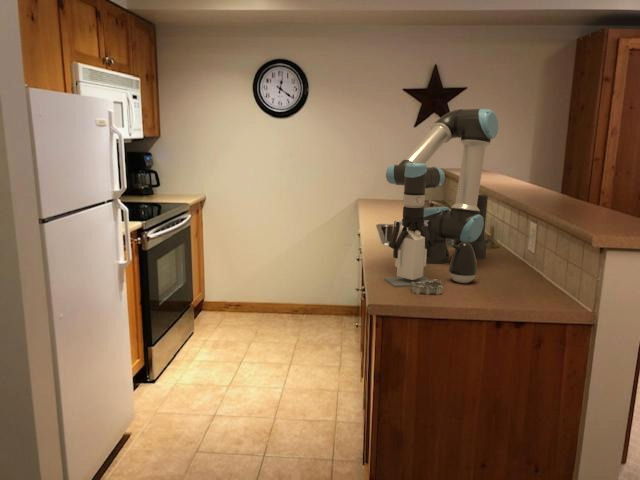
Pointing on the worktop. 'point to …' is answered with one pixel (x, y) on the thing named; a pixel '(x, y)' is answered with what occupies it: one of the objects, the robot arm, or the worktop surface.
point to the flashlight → (479, 243)
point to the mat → (404, 281)
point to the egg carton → (427, 287)
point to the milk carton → (412, 256)
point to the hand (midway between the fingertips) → (410, 266)
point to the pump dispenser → (463, 263)
